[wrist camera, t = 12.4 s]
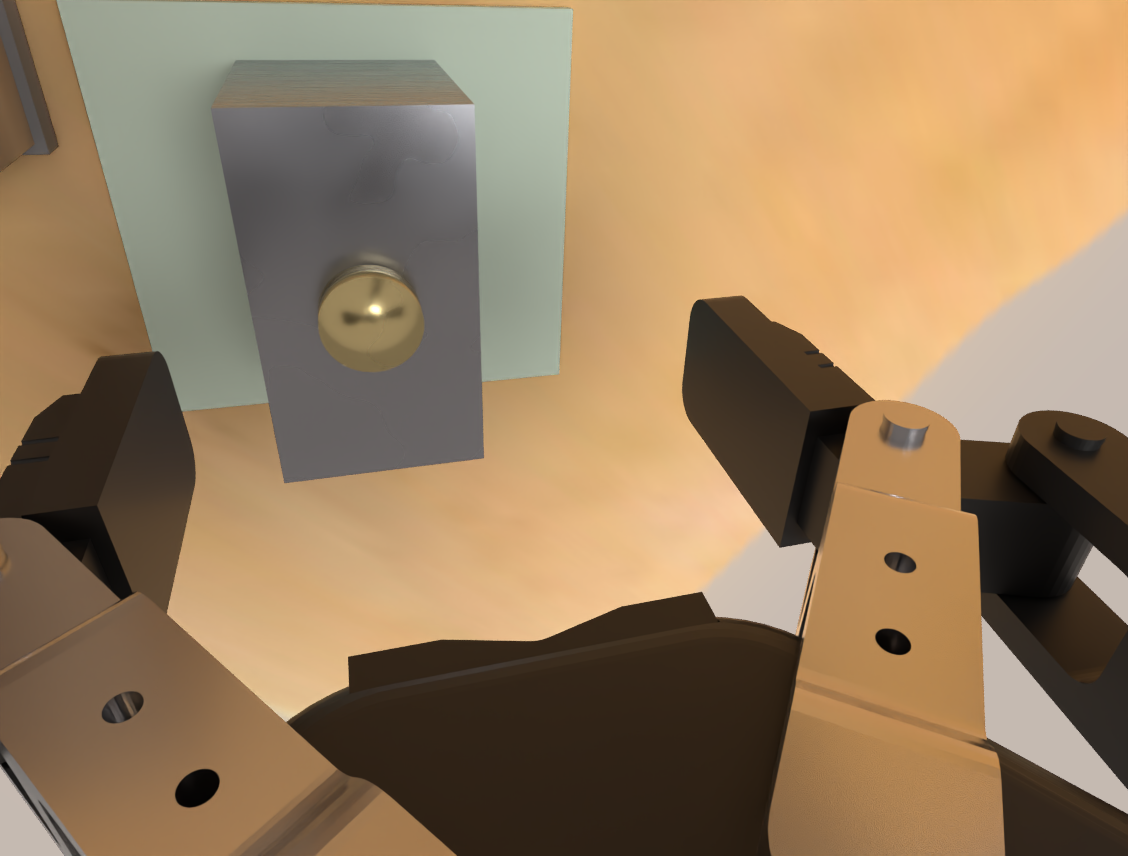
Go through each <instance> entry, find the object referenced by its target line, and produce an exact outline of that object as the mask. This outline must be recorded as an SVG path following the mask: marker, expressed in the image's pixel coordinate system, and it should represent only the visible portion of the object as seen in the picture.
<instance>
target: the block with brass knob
mask: <svg viewBox="0 0 1128 856" xmlns="http://www.w3.org/2000/svg"><path fill="white" fill-rule="evenodd" d="M211 113H212V118H213V123H214V128H215V133H216V138H217V143H218V148H219V153H220V158H221V164H222V169H223V174H224V179H225V184H226V189H227V194H228V199H229V204H230V209H231V214H232V219H233V224H234V229H235V235H236V240H237V245H238V250H239V255H240V260H241V265H242V270H243V275H244V280H245V285H246V290H247V295H248V300H249V306H250V311H251V316H252V321H253V326H254V331H255V336H256V341H257V346H258V351H259V356H260V361H261V366H262V371H263V377H264V382H265V387H266V392H267V397H268V402H269V407H270V412H271V417H272V422H273V427H274V432H275V437H276V442H277V448H278V453H279V458H280V463H281V468H282V473H283V478H284V483H290V482H298V481H306V480H314V479H322V478H330V477H338V476H345V475H353V474H361V473H369V472H377V471H385V470H393V469H401V468H409V467H417V466H425V465H433V464H441V463H449V462H457V461H465V460H473V459H481V458H484V447H483V409H482V372H481V334H480V296H479V258H478V220H477V182H476V144H475V106H474V103H473V102H472V101H471V100H470V99H469V98H468V97H467V95H466V94H465V93H464V92H463V91H462V90H461V89H460V88H459V87H458V85H457V84H456V83H455V82H454V81H453V80H452V79H451V78H450V77H449V75H448V74H447V73H446V72H445V71H444V70H443V69H442V68H441V67H440V65H439V64H438V63H437V62H436V61H435V60H236V61H235V62H234V64H233V66H232V68H231V70H230V72H229V74H228V76H227V78H226V80H225V82H224V84H223V85H222V87H221V89H220V91H219V93H218V95H217V97H216V99H215V101H214V103H213V105H212V107H211Z"/></svg>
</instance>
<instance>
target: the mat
mask: <svg viewBox="0 0 1128 856" xmlns="http://www.w3.org/2000/svg"><path fill="white" fill-rule="evenodd" d="M56 1H57V5H58V8H59V12H60V16H61V19H62V23H63V27H64V30H65V34H66V38H67V41H68V45H69V49H70V52H71V56H72V59H73V63H74V67H75V70H76V74H77V78H78V81H79V85H80V89H81V92H82V96H83V100H84V103H85V107H86V111H87V114H88V118H89V121H90V125H91V129H92V132H93V136H94V140H95V143H96V147H97V151H98V154H99V158H100V162H101V165H102V169H103V172H104V176H105V180H106V183H107V187H108V191H109V194H110V198H111V202H112V205H113V209H114V213H115V216H116V220H117V224H118V227H119V231H120V234H121V238H122V242H123V245H124V249H125V253H126V256H127V260H128V264H129V267H130V271H131V275H132V278H133V282H134V285H135V289H136V293H137V296H138V300H139V304H140V307H141V311H142V315H143V318H144V322H145V326H146V329H147V333H148V337H149V340H150V344H151V347H152V351H153V352H155V351H159V352H160V353H161V354H162V355H163V357H164V358H165V360H166V363H167V365H168V368H169V371H170V374H171V378H172V381H173V384H174V388H175V391H176V394H177V397H178V401H179V404H180V407H181V411H182V412H183V411H193V410H203V409H213V408H223V407H233V406H243V405H253V404H264V403H269V402H268V397H267V392H266V387H265V382H264V377H263V371H262V366H261V361H260V356H259V351H258V346H257V341H256V336H255V331H254V326H253V321H252V316H251V311H250V306H249V300H248V295H247V290H246V285H245V280H244V275H243V270H242V265H241V260H240V255H239V250H238V245H237V240H236V235H235V229H234V224H233V219H232V214H231V209H230V204H229V199H228V194H227V189H226V184H225V179H224V174H223V169H222V164H221V158H220V153H219V148H218V143H217V138H216V133H215V128H214V123H213V118H212V113H211V107H212V105H213V103H214V101H215V99H216V97H217V95H218V93H219V91H220V89H221V87H222V85H223V84H224V82H225V80H226V78H227V76H228V74H229V72H230V70H231V68H232V66H233V64H234V62H235V61H236V60H435V61H436V62H437V63H438V64H439V65H440V67H441V68H442V69H443V70H444V71H445V72H446V73H447V74H448V75H449V77H450V78H451V79H452V80H453V81H454V82H455V83H456V84H457V85H458V87H459V88H460V89H461V90H462V91H463V92H464V93H465V94H466V95H467V97H468V98H469V99H470V100H471V101H472V102H473V103H474V106H475V144H476V182H477V220H478V258H479V296H480V334H481V372H482V382H486V381H496V380H506V379H517V378H527V377H537V376H547V375H557V374H559V364H560V338H561V312H562V285H563V259H564V233H565V206H566V180H567V154H568V128H569V101H570V75H571V49H572V22H573V9H571V8H568V7H519V6H467V5H415V4H363V3H311V2H259V1H206V0H56Z"/></svg>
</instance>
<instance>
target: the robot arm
mask: <svg viewBox="0 0 1128 856" xmlns="http://www.w3.org/2000/svg"><path fill="white" fill-rule="evenodd" d="M682 395H683V403H684V407H685V411H686V414H687V416H688V419H689V420H690V422H691V423H692V425H693V426H694V428H695V429H696V430H697V432H698V433H699V435H700V436H701V437H702V439H703V440H704V442H705V443H706V445H707V446H708V447H709V449H710V450H711V452H712V453H713V454H714V456H715V457H716V459H717V460H718V461H719V463H720V464H721V466H722V467H723V468H724V470H725V471H726V473H727V474H728V476H729V477H730V478H731V480H732V481H733V483H734V484H735V485H736V487H737V488H738V490H739V491H740V492H741V494H742V495H743V497H744V498H745V499H746V501H747V502H748V504H749V505H750V506H751V508H752V509H753V511H754V512H755V514H756V515H757V516H758V518H759V519H760V521H761V522H762V523H763V525H764V526H765V528H766V529H767V530H768V532H769V533H770V535H771V536H772V537H773V539H774V540H775V542H776V543H777V545H778V546H779V547H786V546H792V545H798V544H804V543H809V542H812V543H813V545H814V546H815V547H816V548H815V552H814V556H813V560H812V563H811V567H810V572H809V576H808V581H807V586H806V590H805V594H804V599H803V603H802V607H801V612H800V616H799V621H798V625H797V630H796V634H795V635H794V634H792V633H789V632H787V631H784V630H781V629H778V628H775V627H772V626H768V625H765V624H761V623H757V622H752V621H748V620H742V619H733V618H726V617H715V615H714V613H713V611H712V609H711V608H710V606H709V604H708V602H707V600H706V598H705V597H704V595H703V593H702V592H699V593H693V594H688V595H682V596H677V597H671V598H666V599H661V600H655V601H650V602H644V603H639V604H633V605H628V606H622V607H620V608H617V609H615V610H612V611H610V612H608V613H605V614H603V615H601V616H598V617H596V618H594V619H591V620H589V621H587V622H584V623H582V624H579V625H577V626H575V627H572V628H570V629H568V630H565V631H563V632H561V633H558V634H556V635H553V636H551V637H549V638H546V639H543V640H538V641H484V640H438V641H432V642H427V643H421V644H416V645H410V646H405V647H399V648H394V649H389V650H383V651H378V652H372V653H367V654H361V655H356V656H350V657H348V666H349V687H346V688H344V689H342V690H340V691H337V692H335V693H333V694H331V695H329V696H327V697H325V698H323V699H321V700H320V701H318V702H316V703H314V704H312V705H310V706H309V707H307V708H306V709H304V710H303V711H301V712H300V713H298V714H297V715H295V716H294V717H292V718H291V719H290V720H288V721H287V722H285V721H284V720H283V719H282V718H281V717H279V716H278V715H277V714H276V713H275V712H274V711H273V710H272V709H271V708H270V707H268V706H267V705H266V704H265V703H264V702H263V701H262V700H261V699H260V698H258V697H257V696H256V695H255V694H254V693H253V692H252V691H251V690H250V689H249V688H247V687H246V686H245V685H244V684H243V683H242V682H241V681H240V680H239V679H238V678H236V677H235V676H234V675H233V674H232V673H231V672H230V671H229V670H228V669H226V668H225V667H224V666H223V665H222V664H221V663H220V662H219V661H218V660H217V659H215V658H214V657H213V656H212V655H211V654H210V653H209V652H208V651H207V650H206V649H204V648H203V647H202V646H201V645H200V644H199V643H198V642H197V641H196V640H194V639H193V638H192V637H191V636H190V635H189V634H188V633H187V632H186V631H185V630H183V629H182V628H181V627H180V626H179V625H178V624H177V623H176V622H175V621H174V620H172V619H171V618H170V617H169V616H168V615H167V609H168V605H169V600H170V596H171V591H172V587H173V582H174V577H175V573H176V568H177V564H178V559H179V555H180V550H181V546H182V541H183V536H184V532H185V527H186V523H187V518H188V514H189V509H190V505H191V500H192V495H193V491H194V486H195V460H194V453H193V448H192V444H191V440H190V437H189V434H188V430H187V427H186V424H185V420H184V417H183V414H182V411H181V407H180V404H179V401H178V397H177V394H176V391H175V388H174V384H173V381H172V378H171V374H170V371H169V368H168V365H167V363H166V360H165V358H164V357H163V355H162V354H161V353H160V352H159V351H155V352H144V353H134V354H124V355H113V356H103V357H100V358H98V360H97V362H96V364H95V366H94V368H93V370H92V372H91V374H90V376H89V378H88V380H87V382H86V384H85V386H84V388H83V390H82V392H81V394H72V395H63V396H62V397H60V398H59V399H58V400H56V401H55V402H54V403H53V404H51V405H50V406H49V407H47V408H46V409H45V410H44V411H42V412H41V413H40V414H39V415H37V416H36V417H35V418H34V419H33V421H32V423H31V425H30V427H29V428H28V430H27V432H26V434H25V435H24V437H23V439H22V441H21V442H22V446H18V448H17V450H16V452H15V453H14V455H13V457H12V459H11V460H10V461H11V465H9V466H7V468H6V469H5V471H4V473H3V475H2V477H1V478H0V767H1V769H2V770H3V771H4V773H5V774H6V775H7V777H8V778H9V780H10V781H11V783H12V784H13V785H14V787H15V788H16V789H17V791H18V792H19V794H20V795H21V796H22V798H23V799H24V801H25V802H26V803H27V805H28V806H29V807H30V809H31V810H32V811H33V813H34V814H35V816H36V817H37V818H38V820H39V821H40V823H41V824H42V825H43V827H44V828H45V830H46V831H47V832H48V834H49V835H50V836H51V838H52V839H53V841H54V842H55V843H56V845H57V846H58V848H59V849H60V850H61V852H62V853H63V854H64V856H1128V814H1126V813H1125V812H1123V811H1121V810H1119V809H1117V808H1116V807H1114V806H1112V805H1110V804H1108V803H1106V802H1104V801H1103V800H1101V799H1099V798H1097V797H1095V796H1093V795H1091V794H1090V793H1088V792H1086V791H1084V790H1082V789H1080V788H1079V787H1077V786H1075V785H1073V784H1071V783H1069V782H1067V781H1066V780H1064V779H1062V778H1060V777H1058V776H1056V775H1055V774H1053V773H1051V772H1049V771H1047V770H1045V769H1043V768H1042V767H1040V766H1038V765H1036V764H1034V763H1033V762H1031V761H1029V760H1027V759H1025V758H1023V757H1021V756H1020V755H1018V754H1016V753H1014V752H1012V751H1010V750H1008V749H1007V748H1005V747H1003V746H1001V745H999V744H997V743H996V742H993V741H992V740H990V739H988V738H987V737H986V732H985V713H984V686H983V685H984V683H983V654H982V627H981V625H982V624H981V616H982V617H983V618H984V619H985V621H986V622H987V623H988V624H989V625H990V626H991V628H992V629H993V630H994V631H995V632H996V634H997V635H998V636H999V637H1000V638H1001V640H1002V641H1003V642H1004V643H1005V644H1006V645H1007V647H1008V648H1009V649H1010V650H1011V651H1012V653H1013V654H1014V655H1015V656H1016V657H1017V659H1018V660H1019V661H1020V662H1021V663H1022V664H1023V666H1024V667H1025V668H1026V669H1027V670H1028V671H1029V673H1030V674H1031V675H1032V676H1033V677H1034V679H1035V680H1036V681H1037V682H1038V683H1039V684H1040V686H1041V687H1042V688H1043V689H1044V691H1045V692H1046V693H1047V694H1048V695H1049V697H1050V698H1051V699H1052V700H1053V701H1054V702H1055V704H1056V705H1057V706H1058V707H1059V708H1060V710H1061V711H1062V712H1063V713H1064V714H1065V716H1066V717H1067V718H1068V719H1069V720H1070V721H1071V723H1072V724H1073V725H1074V726H1075V727H1076V729H1077V730H1078V731H1079V732H1080V733H1081V735H1082V736H1083V737H1084V738H1085V739H1086V741H1087V742H1088V743H1089V744H1090V745H1091V746H1092V748H1093V749H1094V750H1095V751H1096V752H1097V754H1098V755H1099V756H1100V757H1101V758H1102V759H1103V761H1104V762H1105V763H1106V764H1107V765H1108V767H1109V768H1110V769H1111V770H1112V771H1113V773H1114V774H1115V775H1116V776H1117V777H1118V779H1119V780H1120V781H1121V782H1122V783H1123V784H1124V786H1125V787H1126V788H1127V789H1128V625H1127V624H1126V623H1124V621H1123V620H1122V619H1121V618H1119V616H1118V615H1116V613H1114V612H1113V611H1112V610H1111V609H1110V608H1109V607H1108V606H1107V605H1106V604H1105V603H1104V602H1103V601H1102V600H1101V599H1100V598H1099V597H1098V596H1097V595H1096V594H1095V593H1094V592H1093V591H1092V590H1091V589H1090V588H1089V587H1088V586H1086V585H1085V583H1083V582H1082V581H1081V580H1080V579H1079V578H1078V577H1077V575H1078V574H1079V572H1080V570H1081V568H1082V566H1083V564H1084V562H1085V560H1086V558H1087V556H1088V554H1089V553H1090V551H1091V549H1092V547H1093V546H1095V547H1096V548H1097V549H1098V550H1099V551H1100V552H1101V553H1102V554H1103V555H1105V556H1106V557H1107V558H1108V559H1109V560H1110V561H1111V562H1112V563H1113V564H1114V565H1116V566H1117V567H1118V568H1119V569H1120V570H1121V571H1122V572H1123V573H1124V574H1125V575H1126V576H1127V577H1128V437H1126V436H1125V435H1124V434H1122V433H1120V432H1119V431H1117V430H1116V429H1114V428H1112V427H1110V426H1108V425H1107V424H1104V423H1102V422H1100V421H1097V420H1094V419H1092V418H1089V417H1086V416H1082V415H1078V414H1074V413H1069V412H1063V411H1049V410H1048V411H1036V412H1032V413H1029V414H1026V415H1025V416H1023V417H1022V418H1021V419H1020V420H1019V423H1018V425H1017V428H1016V431H1015V433H1014V435H1013V438H1012V440H1011V443H1001V442H986V441H972V440H960V436H959V433H958V431H957V429H956V428H955V427H954V426H953V425H952V424H951V423H950V422H949V421H948V420H947V419H945V418H944V417H942V416H941V415H939V414H937V413H935V412H933V411H931V410H929V409H926V408H924V407H921V406H918V405H914V404H910V403H906V402H900V401H891V400H879V401H875V400H874V399H873V398H872V397H871V396H870V395H868V394H867V393H866V392H865V391H864V390H863V389H862V388H861V387H860V386H858V385H857V384H856V383H855V382H854V381H853V380H852V379H851V378H850V377H848V376H847V375H846V374H845V373H844V372H843V371H842V370H841V369H840V368H838V367H837V366H835V367H834V366H833V362H832V361H831V360H830V359H828V358H827V357H826V356H825V355H824V354H823V353H819V350H818V349H817V348H816V347H815V346H814V345H813V344H812V343H811V342H810V341H808V340H807V339H806V338H805V337H804V336H803V335H802V334H800V333H798V332H796V331H794V330H792V329H789V328H787V327H785V326H783V325H781V324H779V323H777V322H775V321H774V322H771V321H770V320H769V319H768V318H767V317H766V316H765V315H764V314H763V313H761V312H760V311H759V310H758V309H757V308H756V307H755V306H754V305H753V304H752V303H751V302H750V301H749V300H748V299H746V298H745V297H744V296H732V297H722V298H712V299H702V300H697V301H696V302H695V303H694V305H693V307H692V310H691V315H690V322H689V331H688V340H687V348H686V357H685V366H684V374H683V384H682Z"/></svg>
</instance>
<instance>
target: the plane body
mask: <svg viewBox="0 0 1128 856" xmlns="http://www.w3.org/2000/svg"><path fill="white" fill-rule="evenodd" d="M57 147H58V143H57V140H56V136H55V133H54V130H53V126H52V123H51V119H50V116H49V113H48V109H47V106H46V103H45V99H44V96H43V93H42V89H41V86H40V83H39V79H38V76H37V73H36V69H35V66H34V63H33V59H32V56H31V53H30V49H29V46H28V43H27V39H26V36H25V33H24V29H23V26H22V23H21V19H20V16H19V13H18V9H17V6H16V3H15V0H0V172H1V171H2V170H4V169H5V168H6V167H7V166H9V165H10V164H11V163H12V162H13V161H15V160H16V159H17V158H18V157H20V156H21V155H42V154H50V153H51V152H52V151H54V150H55V149H56V148H57Z"/></svg>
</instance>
